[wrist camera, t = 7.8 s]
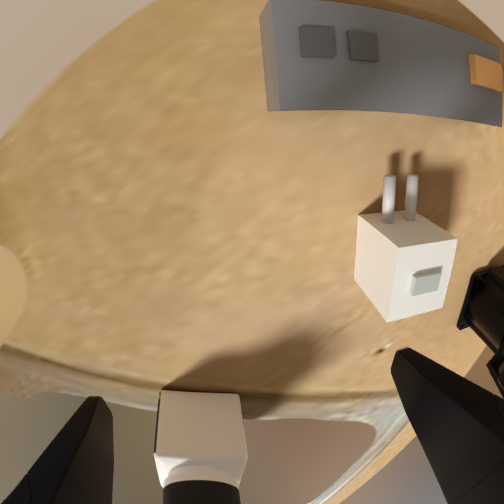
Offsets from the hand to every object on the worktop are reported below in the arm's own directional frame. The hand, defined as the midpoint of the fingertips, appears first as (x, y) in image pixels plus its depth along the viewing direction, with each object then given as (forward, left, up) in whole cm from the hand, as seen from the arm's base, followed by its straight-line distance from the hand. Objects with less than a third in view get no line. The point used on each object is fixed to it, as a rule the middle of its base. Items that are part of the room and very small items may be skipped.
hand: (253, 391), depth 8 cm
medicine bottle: (-18, +5, -13) cm, 23 cm away
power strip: (+10, -11, -13) cm, 20 cm away
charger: (-1, -11, -13) cm, 17 cm away
